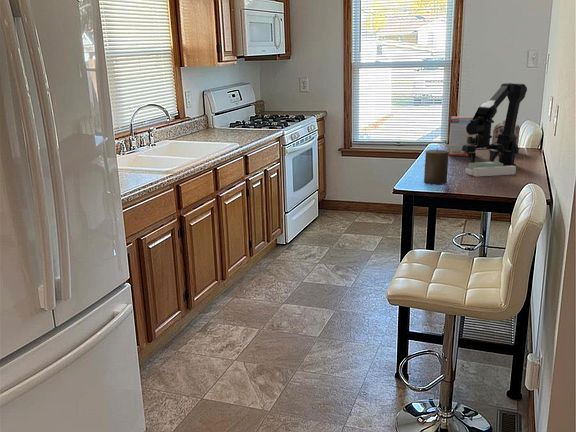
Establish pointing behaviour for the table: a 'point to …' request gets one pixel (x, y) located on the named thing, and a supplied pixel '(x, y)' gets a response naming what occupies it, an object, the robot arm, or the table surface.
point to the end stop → (491, 171)
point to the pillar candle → (436, 167)
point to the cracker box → (459, 135)
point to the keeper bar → (484, 164)
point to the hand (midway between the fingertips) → (481, 165)
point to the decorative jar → (499, 129)
